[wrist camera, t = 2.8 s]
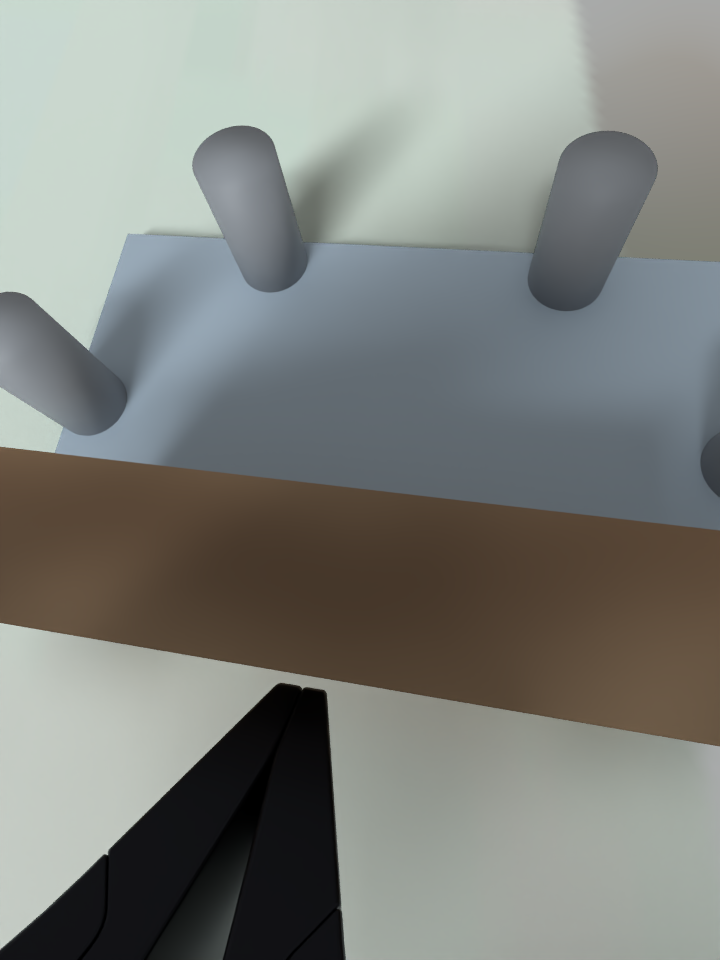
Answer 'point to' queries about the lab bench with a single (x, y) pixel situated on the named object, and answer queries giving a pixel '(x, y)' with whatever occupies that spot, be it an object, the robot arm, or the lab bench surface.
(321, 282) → the peg plate
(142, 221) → the lab bench surface
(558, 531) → the shelf board
